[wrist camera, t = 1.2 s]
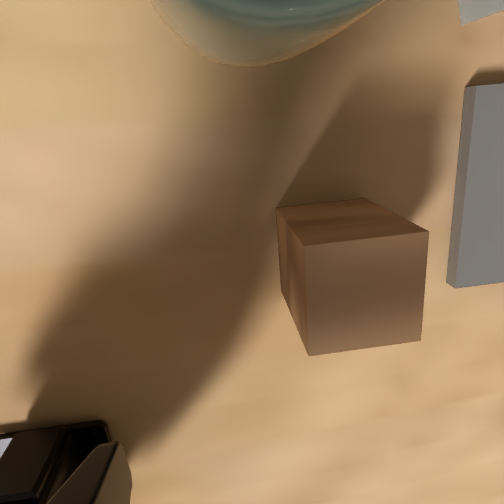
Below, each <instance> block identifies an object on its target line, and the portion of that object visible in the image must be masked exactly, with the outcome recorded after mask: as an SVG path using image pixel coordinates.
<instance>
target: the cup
mask: <svg viewBox="0 0 504 504" xmlns="http://www.w3.org/2000/svg"><path fill="white" fill-rule="evenodd" d="M384 1H385V0H149V2H150V3H151V4H152V6H153V7H154V9H155V10H156V12H157V13H158V15H159V16H160V18H161V19H162V20H163V22H164V23H165V24H166V25H167V26H168V27H169V28H170V29H171V30H172V31H173V32H174V33H175V34H176V35H177V36H178V37H179V39H180V40H181V41H182V42H183V43H184V44H185V45H187V46H188V47H190V48H191V49H193V50H194V51H196V52H197V53H199V54H200V55H202V56H203V57H205V58H207V59H210V60H213V61H216V62H219V63H221V64H224V65H232V66H240V67H252V66H262V65H269V64H272V63H276V62H279V61H282V60H286V59H289V58H292V57H295V56H297V55H299V54H301V53H303V52H305V51H307V50H309V49H311V48H313V47H315V46H317V45H319V44H321V43H323V42H325V41H326V40H328V39H330V38H332V37H333V36H335V35H336V34H338V33H340V32H341V31H343V30H344V29H346V28H347V27H349V26H350V25H352V24H353V23H355V22H356V21H358V20H359V19H361V18H362V17H364V16H365V15H366V14H368V13H369V12H371V11H372V10H373V9H375V8H376V7H377V6H378V5H380V4H381V3H382V2H384Z"/></svg>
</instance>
